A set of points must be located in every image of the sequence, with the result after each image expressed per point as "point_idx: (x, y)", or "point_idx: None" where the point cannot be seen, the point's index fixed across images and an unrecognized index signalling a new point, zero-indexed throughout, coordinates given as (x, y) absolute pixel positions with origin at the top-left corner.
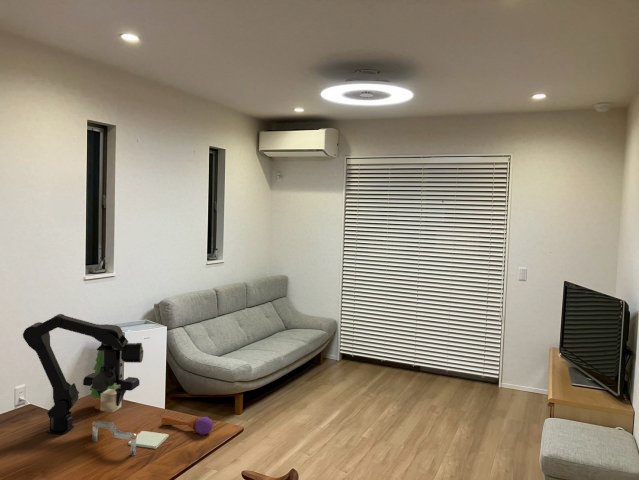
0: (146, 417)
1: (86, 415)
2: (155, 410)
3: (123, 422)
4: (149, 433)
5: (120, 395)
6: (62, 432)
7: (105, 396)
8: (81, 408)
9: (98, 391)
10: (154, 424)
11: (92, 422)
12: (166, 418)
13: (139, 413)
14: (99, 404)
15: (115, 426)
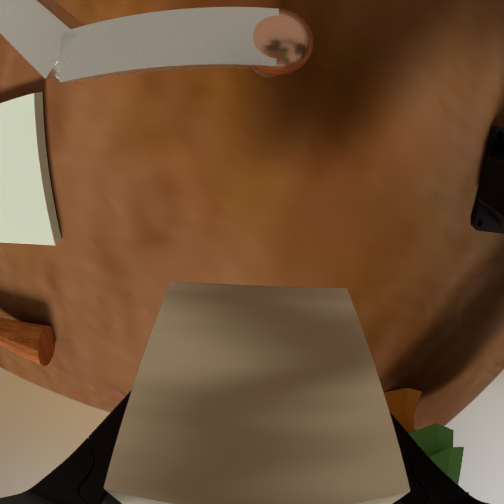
0: None
1: (440, 340)
2: None
3: None
4: (13, 227)
5: (61, 472)
6: (499, 139)
7: (299, 470)
8: (463, 373)
9: (451, 499)
10: (80, 327)
11: (305, 24)
12: (20, 343)
13: None
14: (407, 407)
15: (5, 30)
